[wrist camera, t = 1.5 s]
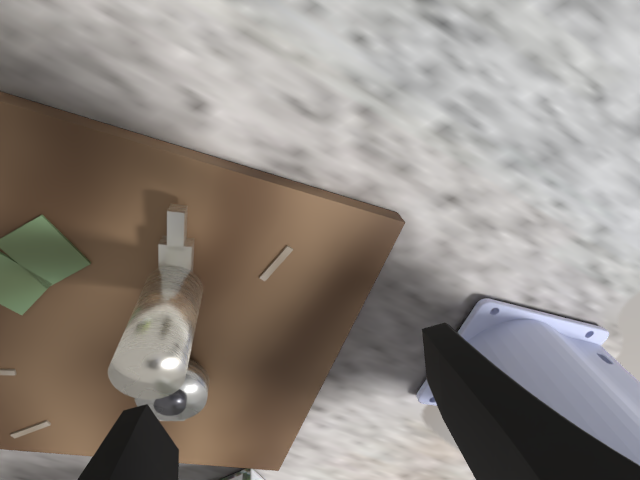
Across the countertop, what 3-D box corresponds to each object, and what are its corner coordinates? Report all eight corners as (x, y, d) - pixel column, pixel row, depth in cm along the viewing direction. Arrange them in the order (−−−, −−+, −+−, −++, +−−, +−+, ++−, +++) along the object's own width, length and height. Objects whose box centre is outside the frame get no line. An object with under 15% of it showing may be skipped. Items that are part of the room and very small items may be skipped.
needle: (207, 409, 20) (193, 517, 16) (141, 408, 19) (107, 521, 15) (222, 209, 15) (208, 285, 10) (133, 199, 14) (78, 277, 10)
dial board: (398, 212, 18) (405, 223, 17) (277, 455, 25) (278, 472, 24) (-28, 83, 13) (-50, 87, 12) (-22, 428, 20) (-36, 448, 19)
